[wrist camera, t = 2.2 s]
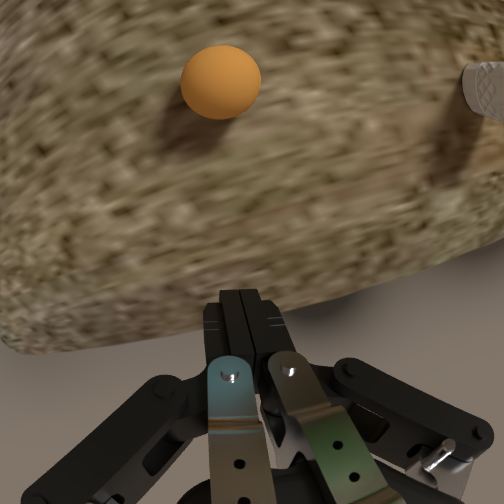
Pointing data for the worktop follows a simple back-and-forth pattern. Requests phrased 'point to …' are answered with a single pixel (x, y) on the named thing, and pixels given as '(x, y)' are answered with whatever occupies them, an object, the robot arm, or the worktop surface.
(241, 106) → the ball
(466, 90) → the white cup
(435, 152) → the worktop surface
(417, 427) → the robot arm
